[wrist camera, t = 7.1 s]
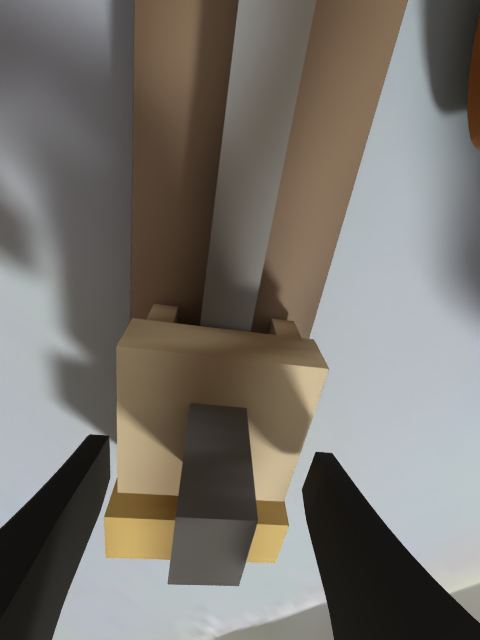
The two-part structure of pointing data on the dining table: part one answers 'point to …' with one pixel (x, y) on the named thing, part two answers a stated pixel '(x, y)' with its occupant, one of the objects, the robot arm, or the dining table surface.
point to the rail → (192, 145)
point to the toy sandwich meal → (474, 90)
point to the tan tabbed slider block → (212, 430)
